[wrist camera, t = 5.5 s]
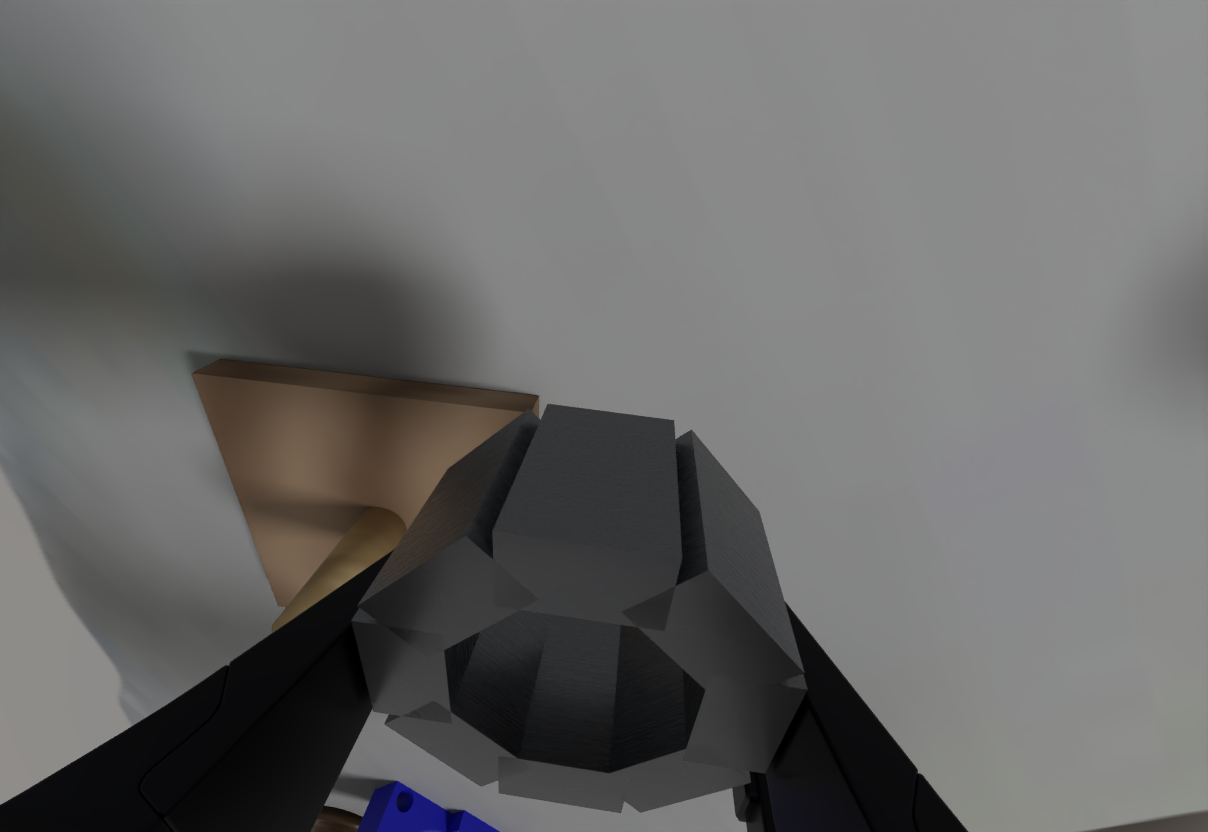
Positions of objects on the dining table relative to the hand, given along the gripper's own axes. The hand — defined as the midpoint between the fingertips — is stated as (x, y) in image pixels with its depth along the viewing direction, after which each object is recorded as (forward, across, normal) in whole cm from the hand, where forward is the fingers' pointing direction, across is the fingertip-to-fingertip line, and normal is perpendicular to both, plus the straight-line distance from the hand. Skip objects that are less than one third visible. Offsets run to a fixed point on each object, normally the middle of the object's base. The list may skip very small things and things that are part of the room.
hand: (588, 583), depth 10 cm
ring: (+1, 0, 0) cm, 1 cm away
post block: (+11, +10, +9) cm, 17 cm away
